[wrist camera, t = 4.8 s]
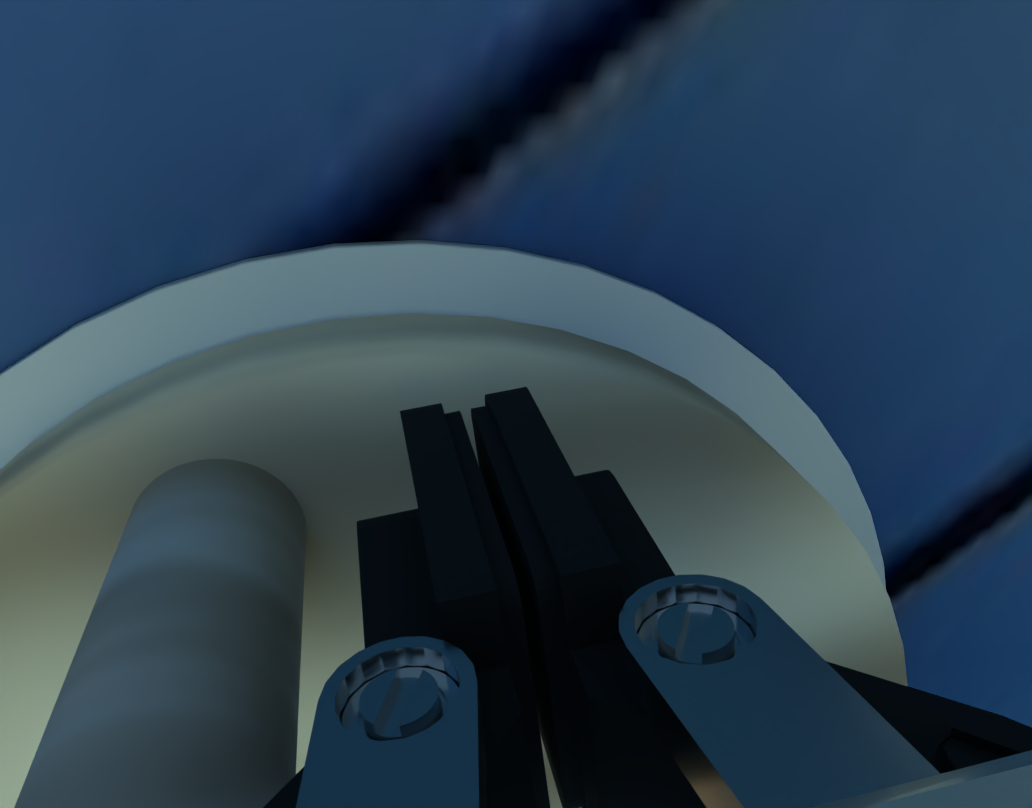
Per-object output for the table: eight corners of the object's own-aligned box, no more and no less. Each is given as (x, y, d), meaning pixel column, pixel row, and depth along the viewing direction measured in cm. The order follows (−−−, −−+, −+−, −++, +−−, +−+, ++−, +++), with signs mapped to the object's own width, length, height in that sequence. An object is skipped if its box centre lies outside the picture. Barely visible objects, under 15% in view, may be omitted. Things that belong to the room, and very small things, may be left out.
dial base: (723, 1029, 25) (735, 1059, 24) (-133, 1103, 19) (-151, 1144, 19) (1028, 327, 17) (1059, 340, 16) (-258, 130, 12) (-297, 137, 11)
